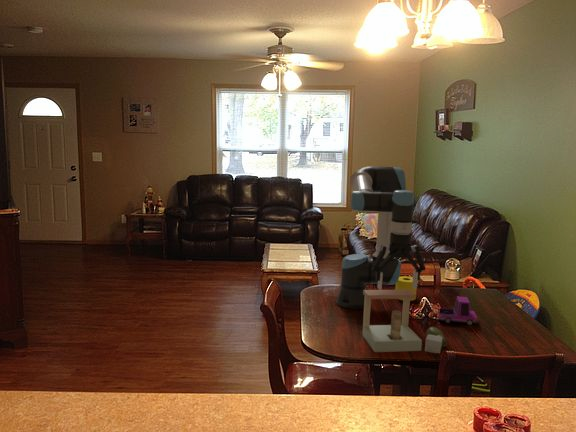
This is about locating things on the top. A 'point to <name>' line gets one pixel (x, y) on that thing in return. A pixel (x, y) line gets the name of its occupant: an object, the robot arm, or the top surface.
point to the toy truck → (458, 312)
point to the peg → (395, 325)
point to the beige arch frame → (387, 295)
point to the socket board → (382, 343)
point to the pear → (436, 334)
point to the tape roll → (405, 285)
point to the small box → (433, 343)
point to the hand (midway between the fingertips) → (397, 288)
